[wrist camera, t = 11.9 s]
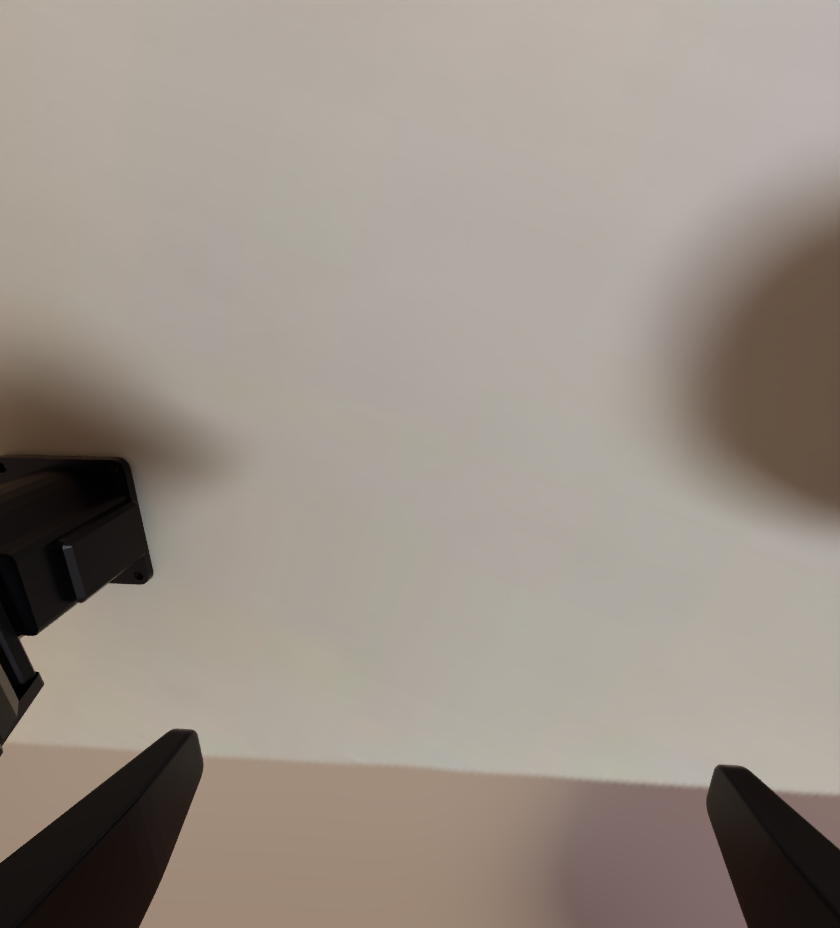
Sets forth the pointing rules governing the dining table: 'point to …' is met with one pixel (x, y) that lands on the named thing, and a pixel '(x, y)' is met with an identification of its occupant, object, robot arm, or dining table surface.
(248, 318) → the dining table surface
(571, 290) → the dining table surface
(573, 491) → the dining table surface
